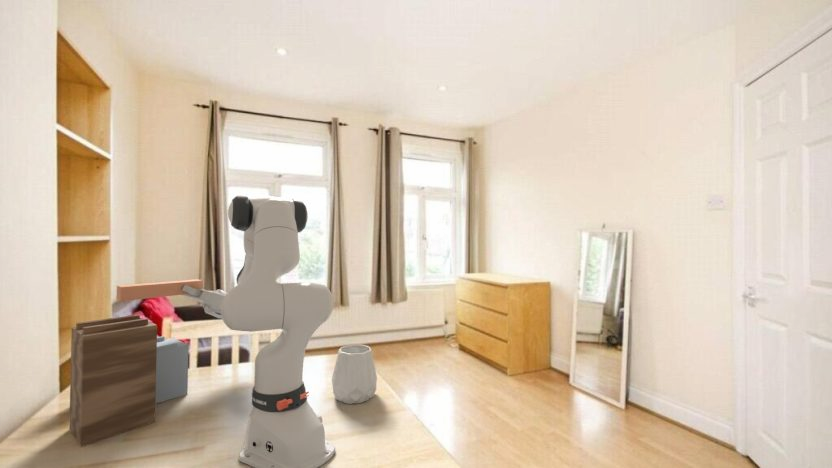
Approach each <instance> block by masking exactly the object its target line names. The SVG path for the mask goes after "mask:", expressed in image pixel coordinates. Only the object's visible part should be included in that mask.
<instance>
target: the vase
mask: <svg viewBox="0 0 832 468" xmlns="http://www.w3.org/2000/svg"><path fill="white" fill-rule="evenodd" d="M373 355H374V354H373V350H372V348H371V347H370V346H369V345H365V344H359V343H358V344H356V343H354V344H348V345H344V346H341V347H340V348H338V351H337V356H336V360H335V365H334V369H333V373H332V378H331V384H332V391H333V392H332V393H333V395H334V397H335V399H336V400H337V401H338V402H342V403H344V404H347V405H353V404H352V403H357V404H363V403H364V401H365V402H367V401H368V400H370V399H371V398H373V397H374V395H375V393H376V392H377V380H378V379H377V378H378V377H377V370H376V364H375V359H374V356H373ZM369 398H370V399H369ZM366 400H367V401H366ZM362 402H363V403H362Z"/></svg>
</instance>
